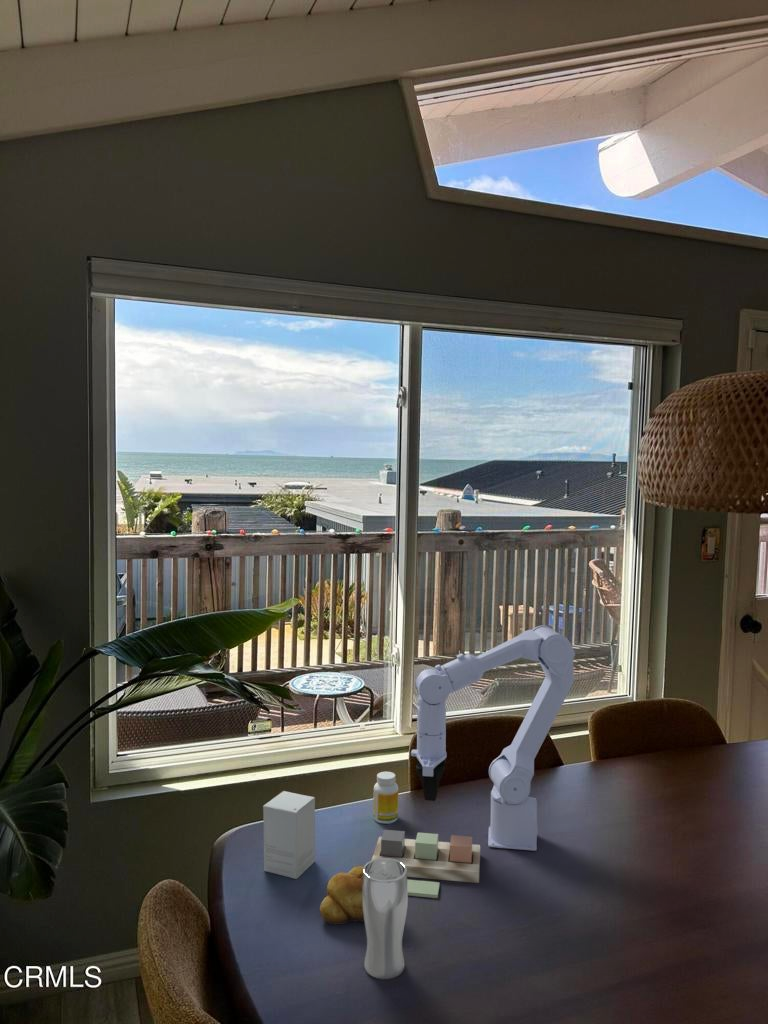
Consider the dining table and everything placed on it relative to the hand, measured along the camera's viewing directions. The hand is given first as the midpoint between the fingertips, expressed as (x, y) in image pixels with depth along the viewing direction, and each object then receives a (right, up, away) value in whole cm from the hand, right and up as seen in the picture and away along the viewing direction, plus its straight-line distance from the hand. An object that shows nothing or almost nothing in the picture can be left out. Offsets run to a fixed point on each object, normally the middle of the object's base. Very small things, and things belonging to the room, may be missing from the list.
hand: (430, 797), depth 146 cm
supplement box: (-27, -10, -8) cm, 30 cm away
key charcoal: (-8, -8, -7) cm, 13 cm away
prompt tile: (-3, -10, -16) cm, 19 cm away
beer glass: (-9, -11, -36) cm, 39 cm away
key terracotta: (+5, -8, -9) cm, 13 cm away
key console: (-1, -10, -7) cm, 12 cm away
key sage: (-1, -8, -8) cm, 11 cm away
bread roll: (-14, -11, -23) cm, 29 cm away
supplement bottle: (-9, -9, +11) cm, 17 cm away
